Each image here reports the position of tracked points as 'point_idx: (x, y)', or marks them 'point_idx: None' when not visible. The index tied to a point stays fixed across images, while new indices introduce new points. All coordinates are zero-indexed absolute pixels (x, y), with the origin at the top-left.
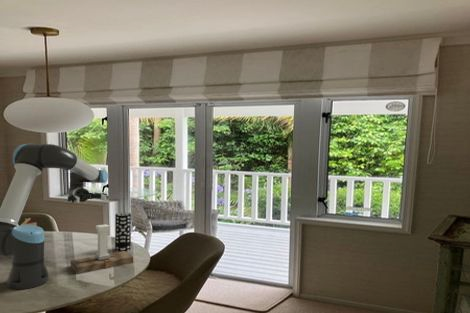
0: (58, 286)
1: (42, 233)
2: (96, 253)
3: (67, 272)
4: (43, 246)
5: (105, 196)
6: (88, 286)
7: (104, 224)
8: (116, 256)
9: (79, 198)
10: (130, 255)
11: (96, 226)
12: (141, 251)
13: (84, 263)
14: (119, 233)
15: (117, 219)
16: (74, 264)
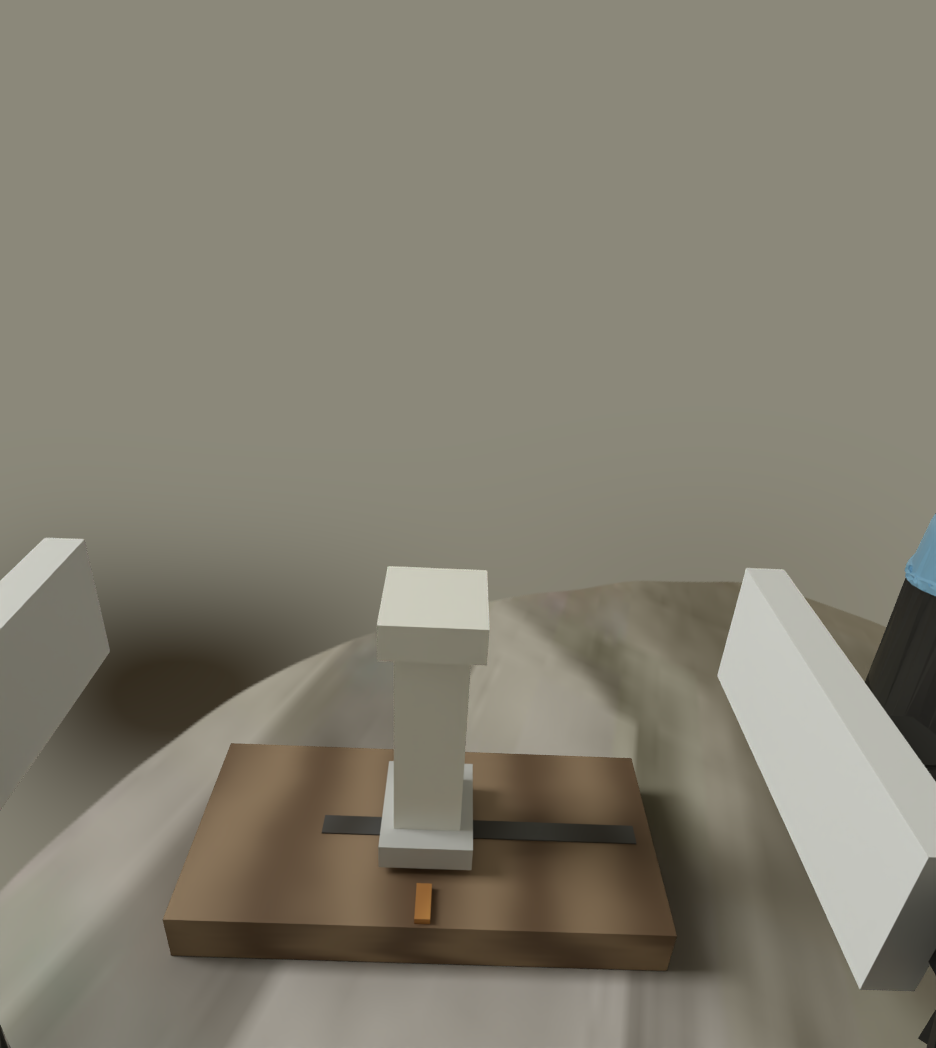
0: (725, 696)
1: (931, 520)
2: (463, 849)
3: (689, 854)
4: (896, 613)
5: (73, 556)
6: (590, 636)
7: (397, 625)
8: (316, 813)
9: (741, 588)
10: (222, 775)
11: (488, 624)
12: None
13: (578, 801)
14: (5, 1041)
15: None
16: (648, 830)
